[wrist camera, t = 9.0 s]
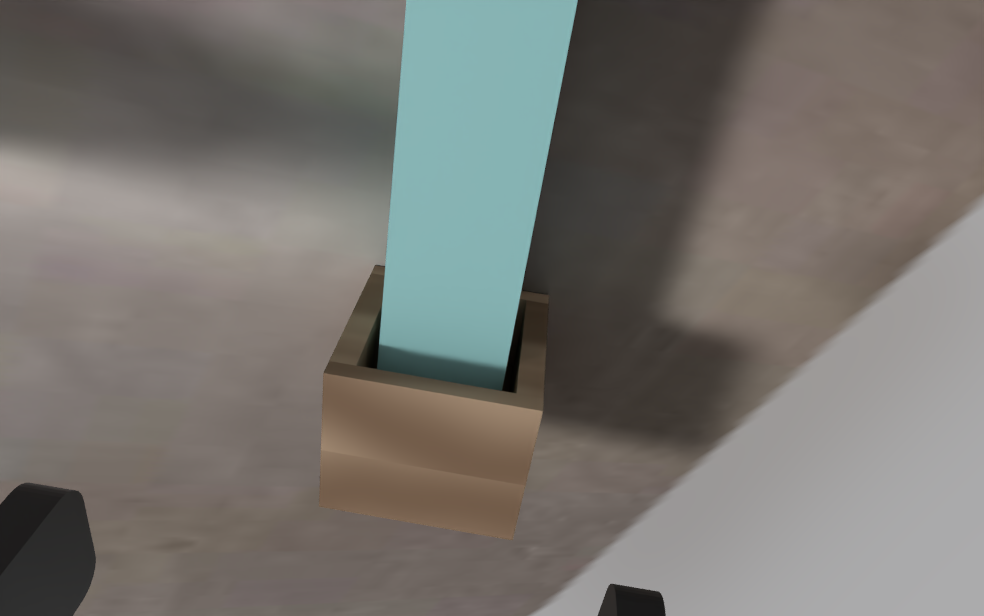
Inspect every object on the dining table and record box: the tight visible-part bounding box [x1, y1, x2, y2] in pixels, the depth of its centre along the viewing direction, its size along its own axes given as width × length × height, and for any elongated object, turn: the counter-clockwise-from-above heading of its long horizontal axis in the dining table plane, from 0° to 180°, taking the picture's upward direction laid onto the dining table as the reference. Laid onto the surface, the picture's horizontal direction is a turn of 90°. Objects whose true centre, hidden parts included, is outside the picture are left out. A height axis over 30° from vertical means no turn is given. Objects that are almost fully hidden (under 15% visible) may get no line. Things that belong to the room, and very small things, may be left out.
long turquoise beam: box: [377, 0, 578, 391], centre depth 21 cm, size 18×4×4 cm, turn 172°
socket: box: [319, 265, 549, 540], centre depth 26 cm, size 6×6×7 cm
